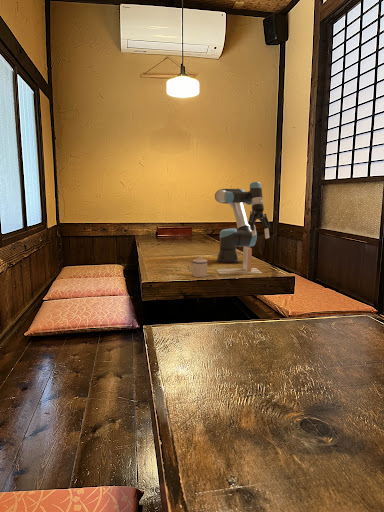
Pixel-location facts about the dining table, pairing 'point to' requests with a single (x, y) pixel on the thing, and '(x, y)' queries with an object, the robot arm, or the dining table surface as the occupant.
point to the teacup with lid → (199, 267)
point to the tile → (247, 258)
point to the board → (237, 271)
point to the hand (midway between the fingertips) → (260, 236)
